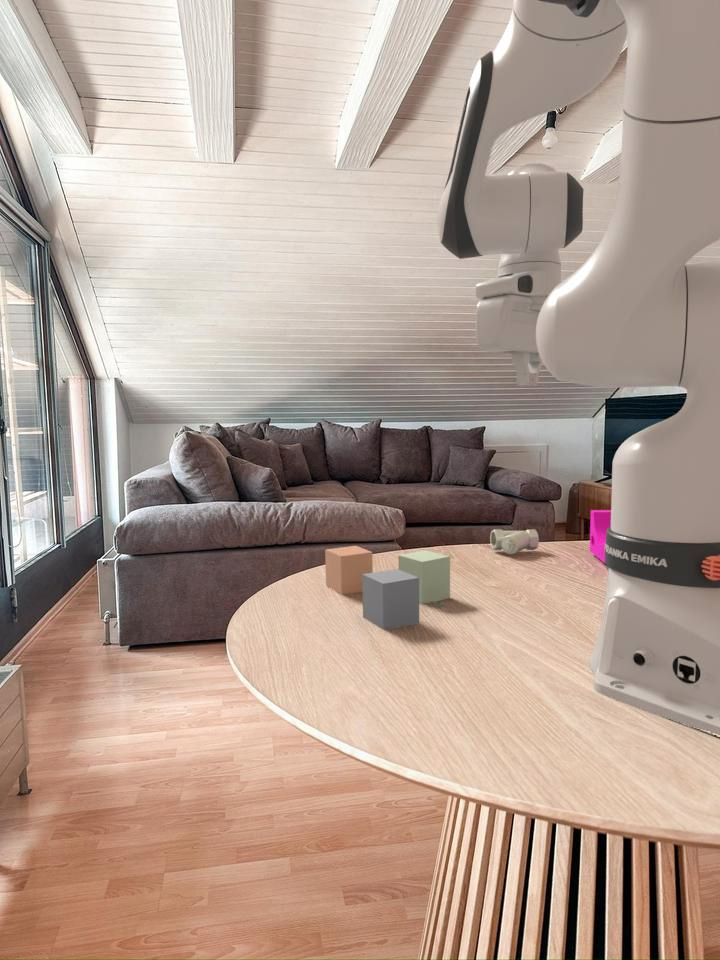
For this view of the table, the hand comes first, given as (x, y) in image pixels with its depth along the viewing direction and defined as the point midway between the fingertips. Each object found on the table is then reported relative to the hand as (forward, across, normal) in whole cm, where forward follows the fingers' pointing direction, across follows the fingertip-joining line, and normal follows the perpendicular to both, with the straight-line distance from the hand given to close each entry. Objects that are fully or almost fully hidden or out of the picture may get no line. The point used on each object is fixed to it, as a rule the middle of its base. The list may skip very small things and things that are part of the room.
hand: (527, 385), depth 94 cm
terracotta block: (+29, +23, -14) cm, 40 cm away
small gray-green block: (+29, +20, 0) cm, 35 cm away
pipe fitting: (+28, -13, -8) cm, 32 cm away
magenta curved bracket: (+30, -22, +5) cm, 37 cm away
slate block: (+29, +29, 0) cm, 41 cm away
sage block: (+29, +18, -4) cm, 35 cm away
